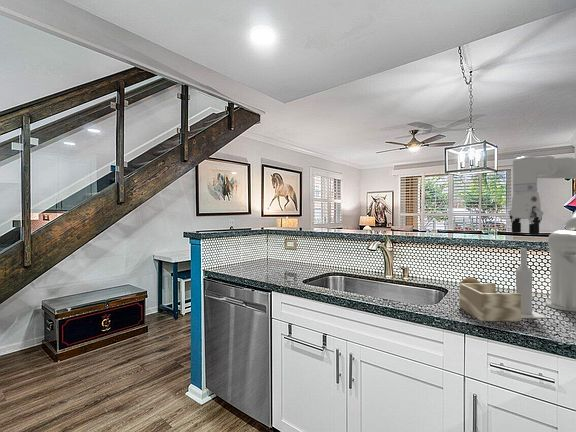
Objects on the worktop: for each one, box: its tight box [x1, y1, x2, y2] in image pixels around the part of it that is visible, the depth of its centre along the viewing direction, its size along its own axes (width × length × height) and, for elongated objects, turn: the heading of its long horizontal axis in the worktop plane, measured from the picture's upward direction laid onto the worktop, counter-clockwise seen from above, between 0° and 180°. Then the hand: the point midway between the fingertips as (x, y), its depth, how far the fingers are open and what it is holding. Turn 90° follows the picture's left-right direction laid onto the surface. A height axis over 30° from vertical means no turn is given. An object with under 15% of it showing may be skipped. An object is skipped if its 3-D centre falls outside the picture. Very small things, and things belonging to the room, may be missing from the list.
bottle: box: [515, 247, 534, 315], centre depth 122 cm, size 5×5×25 cm
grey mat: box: [521, 310, 548, 319], centre depth 122 cm, size 10×10×1 cm
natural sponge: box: [460, 277, 481, 283], centre depth 142 cm, size 9×9×10 cm
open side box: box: [459, 282, 522, 322], centre depth 123 cm, size 14×16×10 cm
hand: (524, 233), depth 122 cm, fingers open, 9 cm apart
